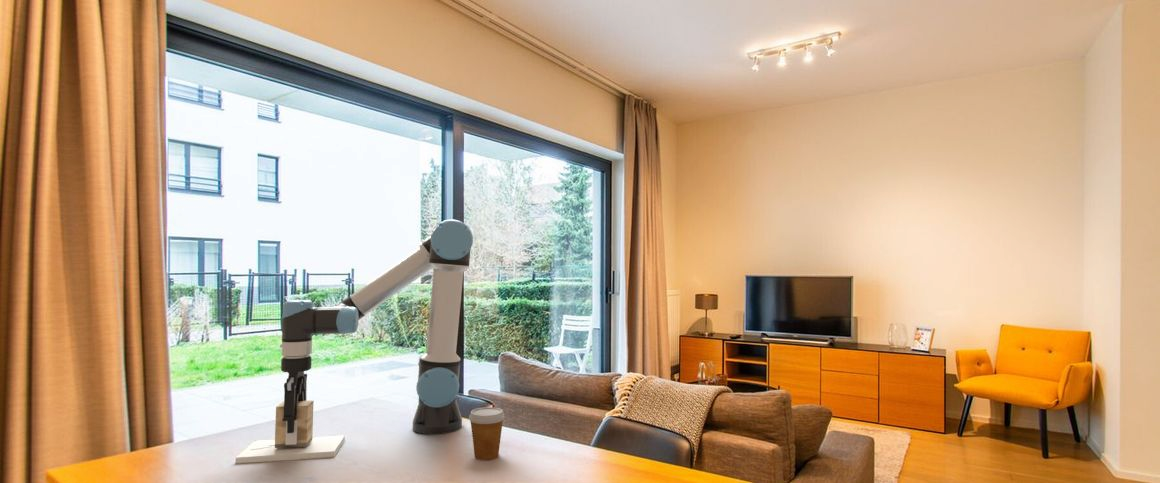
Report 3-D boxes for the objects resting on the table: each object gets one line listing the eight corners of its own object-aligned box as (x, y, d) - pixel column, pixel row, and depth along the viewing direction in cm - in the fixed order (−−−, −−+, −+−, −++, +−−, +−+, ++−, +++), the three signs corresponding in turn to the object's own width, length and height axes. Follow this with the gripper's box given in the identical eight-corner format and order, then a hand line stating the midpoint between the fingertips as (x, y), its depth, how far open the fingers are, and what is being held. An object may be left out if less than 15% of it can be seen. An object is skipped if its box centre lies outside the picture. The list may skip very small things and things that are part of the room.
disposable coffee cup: (510, 452, 156) (510, 408, 157) (494, 464, 147) (494, 417, 148) (479, 448, 159) (479, 405, 160) (461, 460, 150) (462, 414, 151)
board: (344, 440, 167) (344, 435, 167) (334, 456, 153) (334, 451, 153) (254, 446, 162) (254, 440, 162) (235, 463, 148) (235, 457, 148)
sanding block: (312, 439, 161) (313, 400, 162) (306, 446, 155) (307, 405, 156) (281, 441, 160) (282, 401, 160) (274, 448, 154) (276, 406, 154)
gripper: (291, 351, 167) (290, 431, 166) (270, 362, 148) (268, 452, 147) (319, 350, 168) (317, 429, 168) (301, 361, 150) (299, 450, 149)
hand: (294, 440), depth 157 cm, fingers closed on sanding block, 6 cm apart
